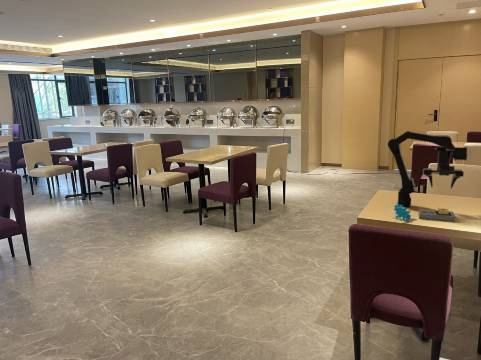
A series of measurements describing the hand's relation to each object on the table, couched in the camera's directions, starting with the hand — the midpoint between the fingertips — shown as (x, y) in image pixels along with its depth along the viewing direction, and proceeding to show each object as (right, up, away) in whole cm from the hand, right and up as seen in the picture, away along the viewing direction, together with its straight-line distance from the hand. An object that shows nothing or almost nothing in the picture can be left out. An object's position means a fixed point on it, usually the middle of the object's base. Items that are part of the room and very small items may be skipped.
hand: (441, 187), depth 200 cm
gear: (-26, -16, -12) cm, 33 cm away
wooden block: (-6, -15, -12) cm, 20 cm away
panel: (-8, -15, -11) cm, 20 cm away
